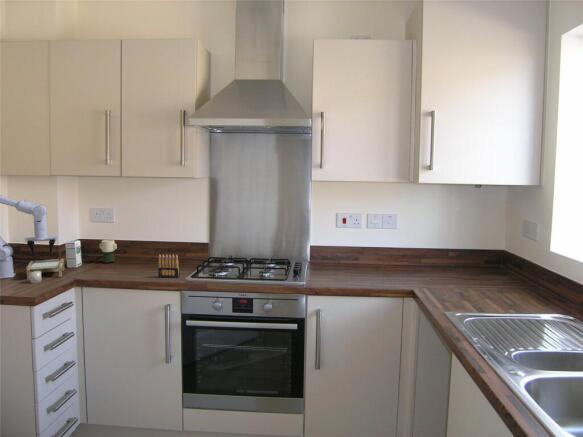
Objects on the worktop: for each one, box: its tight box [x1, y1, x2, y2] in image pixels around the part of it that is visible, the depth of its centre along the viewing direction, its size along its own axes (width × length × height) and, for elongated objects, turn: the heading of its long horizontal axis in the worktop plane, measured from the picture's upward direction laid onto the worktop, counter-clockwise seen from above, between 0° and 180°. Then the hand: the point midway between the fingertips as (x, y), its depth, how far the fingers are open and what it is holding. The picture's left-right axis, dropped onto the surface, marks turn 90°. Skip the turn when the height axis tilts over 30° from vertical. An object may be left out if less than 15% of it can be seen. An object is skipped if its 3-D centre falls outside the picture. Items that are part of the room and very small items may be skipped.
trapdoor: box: [30, 258, 60, 270], centre depth 224 cm, size 13×12×2 cm
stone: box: [29, 271, 42, 284], centre depth 211 cm, size 5×5×5 cm
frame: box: [25, 257, 65, 281], centre depth 224 cm, size 15×16×7 cm
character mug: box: [99, 239, 118, 264], centre depth 253 cm, size 11×7×13 cm, turn 79°
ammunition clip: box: [158, 253, 181, 279], centre depth 219 cm, size 11×2×12 cm, turn 84°
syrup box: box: [64, 239, 83, 268], centre depth 243 cm, size 6×6×14 cm
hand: (42, 254), depth 225 cm, fingers open, 7 cm apart
